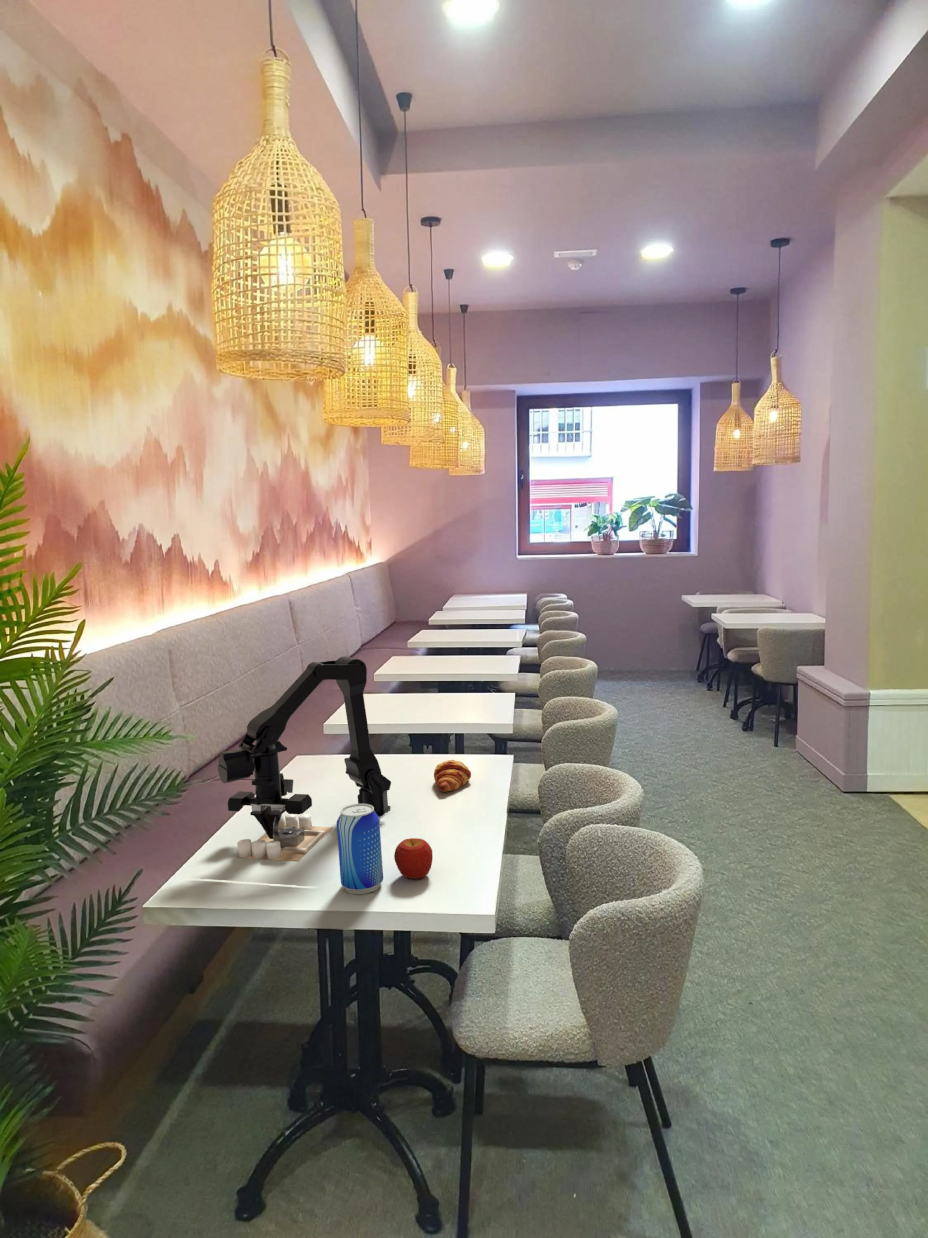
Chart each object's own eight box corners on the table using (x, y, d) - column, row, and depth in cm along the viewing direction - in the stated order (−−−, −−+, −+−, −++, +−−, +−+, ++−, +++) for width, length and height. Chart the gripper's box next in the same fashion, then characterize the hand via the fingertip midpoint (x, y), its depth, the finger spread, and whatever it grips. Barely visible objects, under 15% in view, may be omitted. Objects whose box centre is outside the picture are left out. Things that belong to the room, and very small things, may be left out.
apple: (403, 888, 162) (400, 850, 161) (390, 873, 169) (388, 836, 168) (439, 879, 165) (437, 842, 164) (425, 864, 172) (423, 829, 171)
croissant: (451, 782, 234) (437, 758, 234) (481, 766, 232) (467, 742, 232) (434, 807, 214) (419, 781, 214) (467, 790, 212) (451, 764, 212)
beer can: (365, 899, 158) (360, 820, 156) (332, 891, 162) (326, 813, 160) (392, 882, 165) (387, 805, 163) (359, 874, 169) (354, 799, 167)
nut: (307, 836, 189) (307, 826, 189) (294, 849, 183) (293, 838, 182) (284, 835, 191) (283, 825, 191) (270, 847, 184) (269, 837, 184)
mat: (333, 829, 194) (333, 824, 194) (298, 863, 176) (298, 857, 176) (276, 826, 198) (275, 821, 198) (235, 859, 180) (235, 853, 180)
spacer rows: (314, 826, 196) (313, 814, 195) (277, 860, 177) (276, 846, 177) (276, 824, 198) (275, 812, 198) (235, 857, 180) (234, 844, 180)
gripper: (319, 763, 191) (324, 827, 193) (247, 760, 196) (253, 823, 198) (298, 778, 181) (303, 846, 183) (223, 775, 185) (229, 841, 187)
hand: (272, 838), depth 188 cm, fingers closed
